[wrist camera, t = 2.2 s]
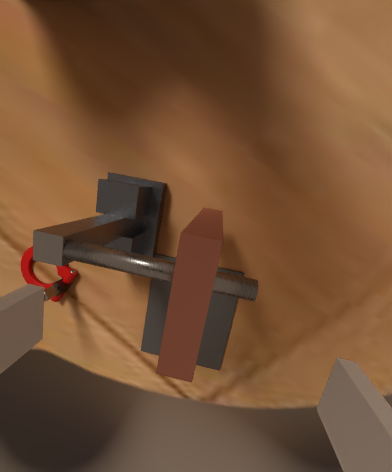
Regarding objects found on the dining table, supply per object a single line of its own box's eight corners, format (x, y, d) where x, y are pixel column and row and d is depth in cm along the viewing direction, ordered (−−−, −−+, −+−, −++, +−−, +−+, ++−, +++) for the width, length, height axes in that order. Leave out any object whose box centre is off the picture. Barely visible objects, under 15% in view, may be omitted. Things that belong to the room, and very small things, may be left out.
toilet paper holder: (114, 173, 33) (-2, 157, 16) (248, 199, 32) (279, 213, 14) (107, 249, 36) (0, 306, 19) (229, 276, 34) (237, 364, 17)
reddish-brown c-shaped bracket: (204, 207, 29) (180, 232, 12) (222, 211, 29) (223, 241, 12) (190, 275, 31) (156, 373, 15) (207, 278, 31) (191, 382, 14)
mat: (156, 253, 35) (155, 254, 35) (243, 272, 34) (244, 273, 34) (141, 349, 39) (140, 350, 39) (219, 369, 38) (219, 370, 38)
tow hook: (18, 270, 39) (59, 303, 39) (-81, 305, 27) (-21, 353, 27) (40, 233, 37) (83, 268, 37) (-56, 253, 25) (8, 305, 25)
